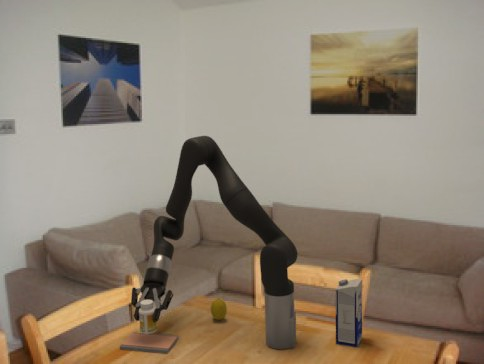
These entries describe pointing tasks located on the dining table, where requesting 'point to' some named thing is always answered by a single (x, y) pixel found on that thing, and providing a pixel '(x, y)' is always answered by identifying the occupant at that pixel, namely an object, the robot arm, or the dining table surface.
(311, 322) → the dining table surface
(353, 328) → the milk carton
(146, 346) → the band board
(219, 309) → the lemon
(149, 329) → the supplement bottle
